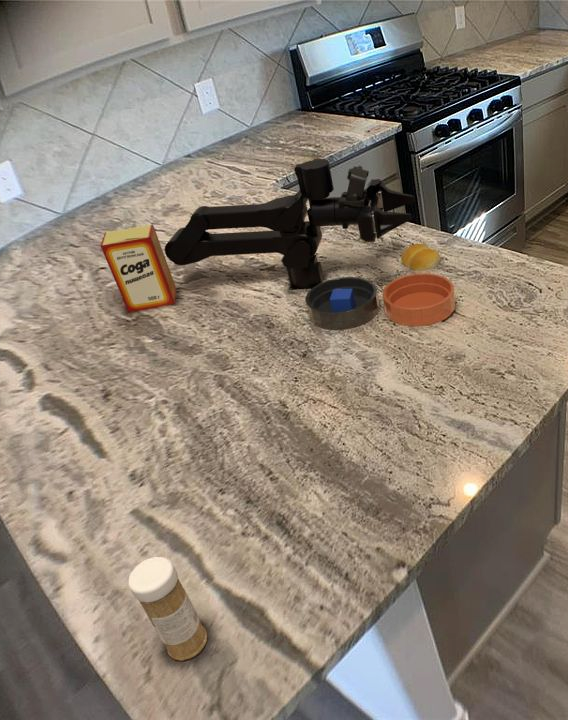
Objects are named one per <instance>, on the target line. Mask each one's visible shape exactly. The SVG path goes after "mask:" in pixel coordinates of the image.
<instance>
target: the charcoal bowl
mask: <svg viewBox="0 0 568 720" xmlns="http://www.w3.org/2000/svg"><path fill="white" fill-rule="evenodd" d="M351 288H352V289H353V294H354V300H355V308H353V309H350V310H345V311H336V312H332V308H331V303H330V297H331V294H332V291H333V289H351ZM379 299H380V298H379V293H378V288H377V287H376V284H374V283H373V282H372V281H371V280H369V279H366V278H363V277H359V276H358V277H357V276H341V277H340V276H339V277H335V278H331V279H328V280H324V281H322V283H320V284H318V285H316V286H315V287H313V288H312V289H309V291H308V292H307V293H306V295H305V298H304V300H305V304H306V309H307V313H308V317H309V321H310V322H311V324H313V325H314V326H315V327H318V328H321V329H323V330H331V331H340V330H342V331H343V330H349V329H353V328H357V327H359V326H362V325H365V324H366V323H368V322H370V321H371V320H372V319H374V318H375V317H376V316H377V314H378V313H379V310H380V300H379Z"/></svg>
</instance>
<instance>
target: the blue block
mask: <svg viewBox="0 0 568 720" xmlns="http://www.w3.org/2000/svg"><path fill="white" fill-rule="evenodd" d="M330 303H331V308H332V312H336V311H345V310H350V309H353V308H355V300H354V294H353V289H352V288H351V289H333V291H332V294H331V297H330Z"/></svg>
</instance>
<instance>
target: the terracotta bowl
mask: <svg viewBox="0 0 568 720" xmlns="http://www.w3.org/2000/svg"><path fill="white" fill-rule="evenodd" d="M382 302H383V307H384V312H385V315H386V317H387V319H389V320H390V321H391V322H393V323H395V324H398V325H401V326H407V327H425V326H429V325H435V324H437V323H439V322H443V321H445V320H446V319H447V318H449V317H450V316H451V315H452V314H453V312H454V311H455V309H456V295H455V286H454V284H453V282H452V280H450V279H448V278H447V277H446V276H444V275H439V274H436V273H428V272H422V273H421V272H419V273H411V274H406V275H402V276H400V277H397V278H395V279H394V280H392V281H390V282H389V283H387V284H386V286H385V287H384V288H383V290H382Z"/></svg>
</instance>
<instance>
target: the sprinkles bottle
mask: <svg viewBox="0 0 568 720" xmlns="http://www.w3.org/2000/svg"><path fill="white" fill-rule="evenodd" d="M127 584H128V585H127V586H128V588H129V590H130V592H131V594H132V596H133V597H134V598H135V599H136V600H137V601H138V602H139V604H140V606H141V607H142V609H143V610H144V611H145V612H144V613H145V614H146V616H147V617H148V619H149V621H150V622H151V626H152V627H153V629H154V631H155V632H156V634H157V636H158V638H159V639H160V640H161V642H162V643H163V645H164V647H165V648H166V650H167V654H168V655H169V657H170V658H171V659H173V660H176V661H181V662H183V661H187V660H190V659H193V658H195V657H196V656H197V655H199V654H200V653H201V652H202V650H203V649H204V648H205V646H206V644H207V642H208V631H207V630H206V628H205V627H204V625H202V622H201V620H200V617H199V615H198V613H197V610H196V608H195V607H194V605H193V603H192V601H191V599H190V597H189V595H188V593H187V591H186V589H185V588H184V587H183V584H182V583H181V581H180V578H179V575H178V571H177V569H176V567H175V566H174V564H173V562H172V561H171V559H169V558H168V557H164V556H154V557H150V558H148V559H147V558H146V559H145V560H143V561H142V562H140V563H138V564H137V565H136V566H135V567H134V568H133V569H132V571H131V572H130V574H129V575H128V580H127Z"/></svg>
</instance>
